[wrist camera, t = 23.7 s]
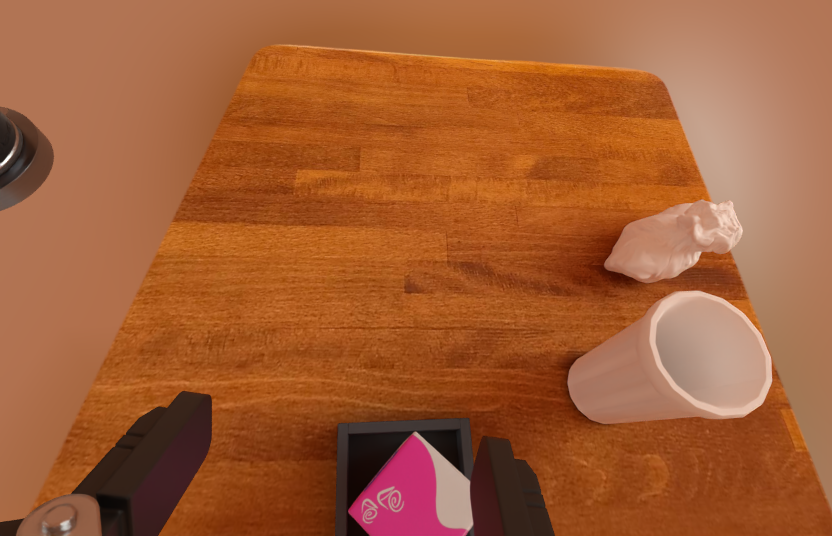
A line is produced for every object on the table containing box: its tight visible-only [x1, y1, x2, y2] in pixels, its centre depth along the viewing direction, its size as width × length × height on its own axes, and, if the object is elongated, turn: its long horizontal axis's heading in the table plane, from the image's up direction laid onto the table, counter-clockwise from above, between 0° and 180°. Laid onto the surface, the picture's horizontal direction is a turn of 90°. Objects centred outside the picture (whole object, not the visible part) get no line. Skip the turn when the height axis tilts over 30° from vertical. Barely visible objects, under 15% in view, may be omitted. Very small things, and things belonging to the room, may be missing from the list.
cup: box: [567, 291, 772, 424], centre depth 33 cm, size 8×8×14 cm
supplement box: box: [348, 431, 473, 536], centre depth 29 cm, size 6×6×12 cm
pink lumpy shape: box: [604, 200, 743, 283], centre depth 42 cm, size 12×8×11 cm
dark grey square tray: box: [335, 418, 475, 536], centre depth 34 cm, size 10×10×3 cm
